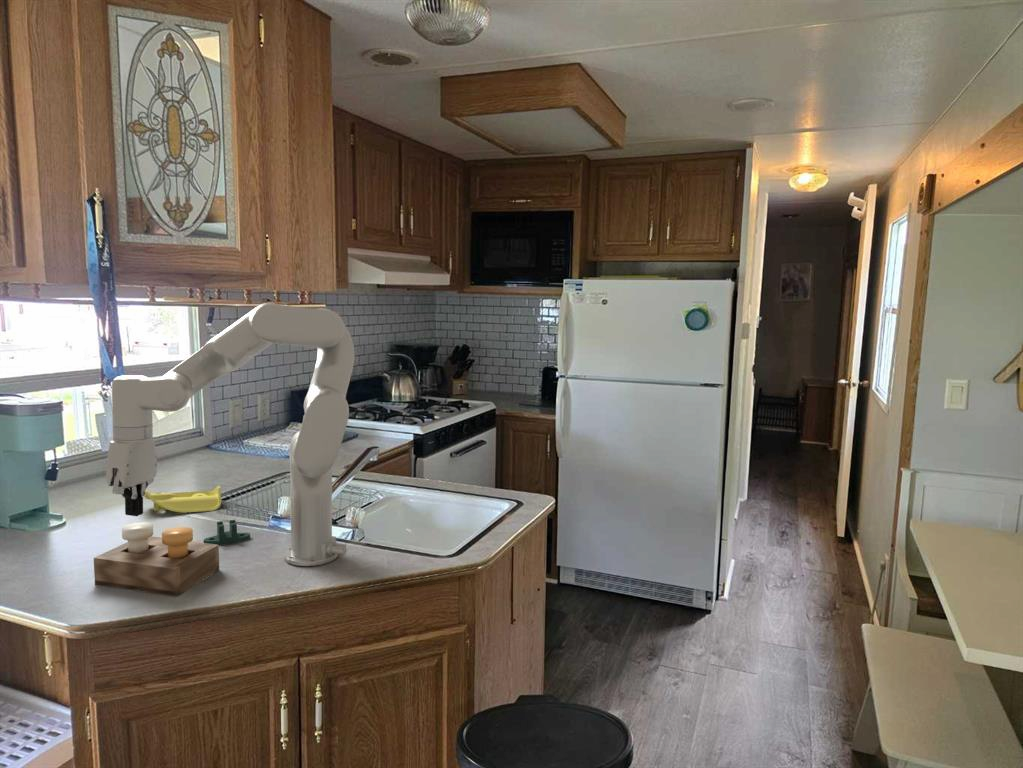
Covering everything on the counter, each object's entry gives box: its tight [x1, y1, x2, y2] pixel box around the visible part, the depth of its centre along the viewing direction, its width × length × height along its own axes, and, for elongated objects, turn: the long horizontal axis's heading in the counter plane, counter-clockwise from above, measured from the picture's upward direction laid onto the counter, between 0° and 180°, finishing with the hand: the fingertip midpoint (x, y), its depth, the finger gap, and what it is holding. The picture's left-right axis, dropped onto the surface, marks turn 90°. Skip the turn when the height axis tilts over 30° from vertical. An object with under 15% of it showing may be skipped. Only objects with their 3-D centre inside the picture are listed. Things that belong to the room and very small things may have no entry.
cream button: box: [121, 521, 154, 554], centre depth 148 cm, size 6×6×6 cm
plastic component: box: [143, 485, 222, 514], centre depth 193 cm, size 20×7×10 cm
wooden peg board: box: [93, 535, 220, 597], centre depth 148 cm, size 20×14×6 cm
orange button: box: [161, 526, 194, 559], centre depth 146 cm, size 6×6×6 cm
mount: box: [203, 519, 251, 546], centre depth 170 cm, size 11×4×5 cm, turn 119°
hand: (134, 514), depth 147 cm, fingers closed
